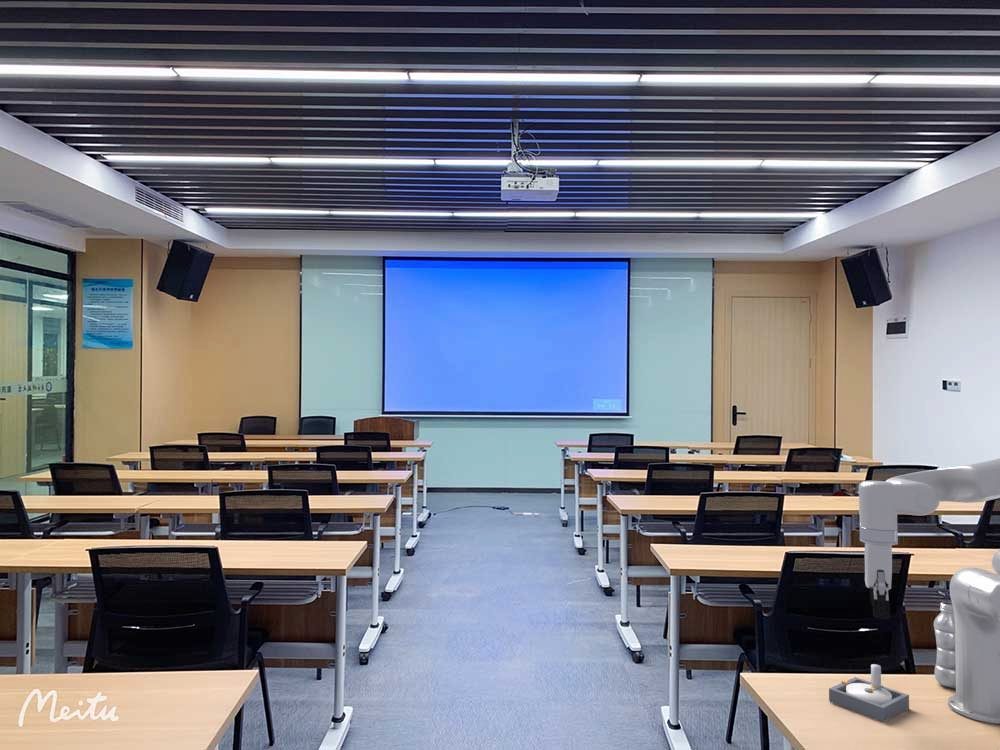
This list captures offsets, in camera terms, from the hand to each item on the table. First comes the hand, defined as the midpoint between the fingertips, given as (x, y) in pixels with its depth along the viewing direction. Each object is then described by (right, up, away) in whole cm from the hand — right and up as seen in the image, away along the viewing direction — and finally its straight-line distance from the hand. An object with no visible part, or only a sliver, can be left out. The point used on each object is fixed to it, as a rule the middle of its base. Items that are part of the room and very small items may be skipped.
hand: (880, 612), depth 153 cm
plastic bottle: (+25, -23, +13) cm, 36 cm away
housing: (-2, -22, +1) cm, 22 cm away
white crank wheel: (-2, -21, +1) cm, 21 cm away
